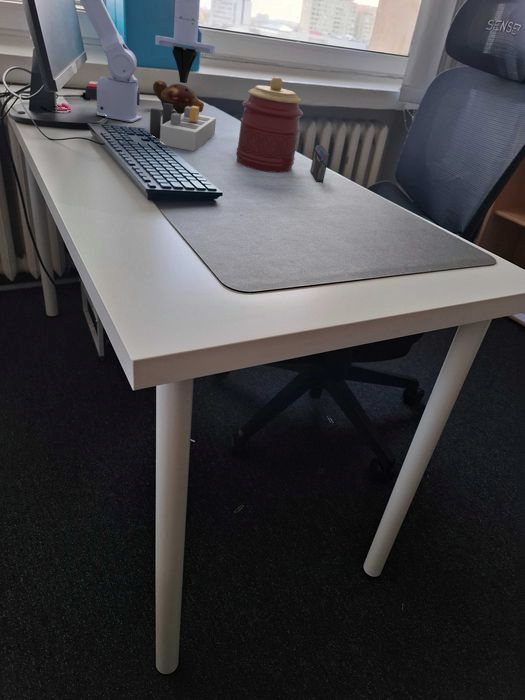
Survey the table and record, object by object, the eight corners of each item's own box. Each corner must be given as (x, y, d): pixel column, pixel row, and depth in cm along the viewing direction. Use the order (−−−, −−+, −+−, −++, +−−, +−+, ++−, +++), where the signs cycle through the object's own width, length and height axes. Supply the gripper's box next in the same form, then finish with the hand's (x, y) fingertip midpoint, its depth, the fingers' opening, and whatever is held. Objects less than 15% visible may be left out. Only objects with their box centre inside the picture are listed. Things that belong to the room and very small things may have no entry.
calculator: (88, 79, 154) (139, 84, 158) (89, 95, 157) (139, 99, 160) (84, 85, 146) (138, 89, 149) (86, 101, 148) (139, 106, 151)
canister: (225, 155, 116) (235, 68, 106) (275, 157, 122) (288, 75, 112) (251, 173, 107) (264, 79, 97) (303, 174, 113) (320, 86, 103)
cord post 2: (160, 130, 127) (162, 103, 124) (163, 128, 129) (164, 102, 126) (170, 131, 127) (171, 105, 124) (172, 130, 129) (174, 104, 126)
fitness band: (75, 115, 128) (75, 108, 127) (52, 114, 124) (52, 108, 124) (61, 107, 133) (61, 101, 132) (38, 107, 129) (38, 100, 128)
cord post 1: (148, 137, 119) (149, 109, 116) (151, 135, 121) (152, 107, 118) (158, 139, 119) (159, 111, 116) (161, 137, 121) (162, 109, 118)
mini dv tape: (310, 172, 116) (315, 144, 113) (316, 173, 116) (322, 145, 113) (316, 182, 109) (322, 153, 106) (322, 183, 109) (329, 154, 106)
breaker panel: (159, 144, 115) (161, 115, 112) (184, 128, 133) (186, 103, 130) (194, 151, 115) (196, 122, 112) (214, 134, 133) (217, 109, 130)
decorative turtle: (153, 106, 153) (157, 77, 149) (203, 118, 155) (208, 90, 151) (147, 109, 145) (150, 78, 141) (199, 122, 146) (204, 92, 142)
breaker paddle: (189, 121, 120) (190, 107, 119) (192, 119, 123) (193, 105, 121) (195, 122, 120) (196, 108, 119) (198, 120, 123) (199, 106, 121)
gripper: (151, 13, 119) (150, 78, 126) (212, 24, 119) (207, 88, 126) (160, 14, 125) (159, 76, 132) (218, 24, 125) (213, 86, 132)
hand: (183, 82), depth 130 cm, fingers closed
